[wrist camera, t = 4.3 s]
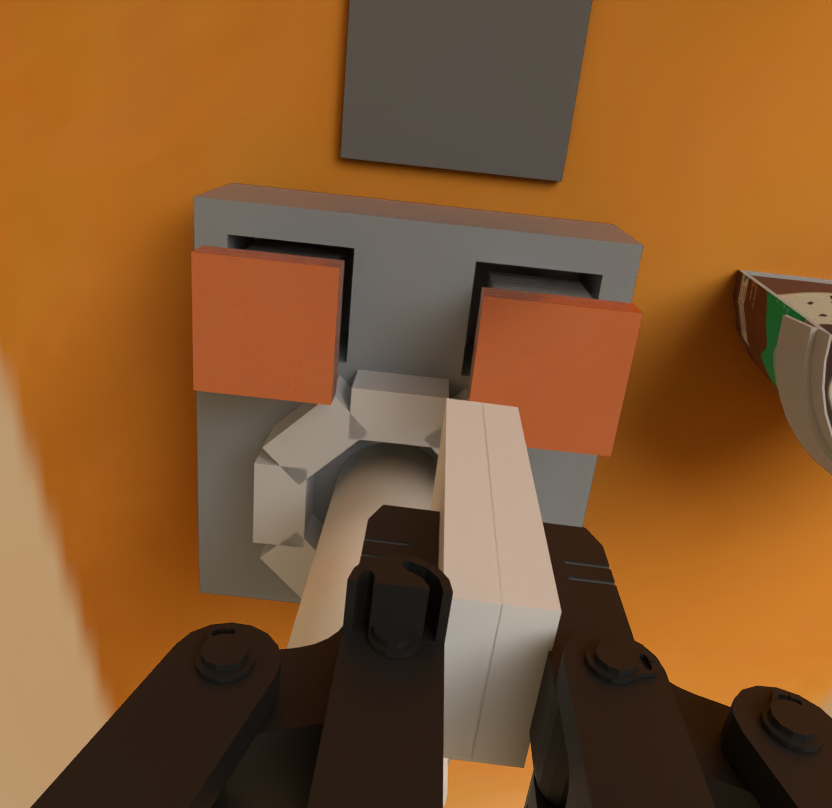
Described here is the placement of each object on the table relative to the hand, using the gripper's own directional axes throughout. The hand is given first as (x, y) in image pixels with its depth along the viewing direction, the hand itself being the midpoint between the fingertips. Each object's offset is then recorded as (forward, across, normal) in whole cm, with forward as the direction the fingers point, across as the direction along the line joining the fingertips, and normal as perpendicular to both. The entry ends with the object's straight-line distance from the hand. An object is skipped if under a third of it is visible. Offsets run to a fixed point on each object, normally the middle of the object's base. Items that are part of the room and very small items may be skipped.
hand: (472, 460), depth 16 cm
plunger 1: (+15, -6, -1) cm, 16 cm away
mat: (+18, -1, +9) cm, 20 cm away
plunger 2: (+13, +3, 0) cm, 14 cm away
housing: (+17, -2, -5) cm, 18 cm away
